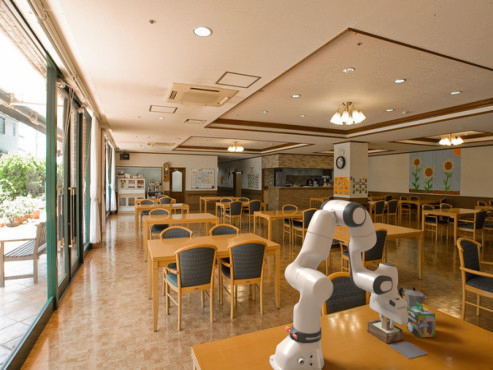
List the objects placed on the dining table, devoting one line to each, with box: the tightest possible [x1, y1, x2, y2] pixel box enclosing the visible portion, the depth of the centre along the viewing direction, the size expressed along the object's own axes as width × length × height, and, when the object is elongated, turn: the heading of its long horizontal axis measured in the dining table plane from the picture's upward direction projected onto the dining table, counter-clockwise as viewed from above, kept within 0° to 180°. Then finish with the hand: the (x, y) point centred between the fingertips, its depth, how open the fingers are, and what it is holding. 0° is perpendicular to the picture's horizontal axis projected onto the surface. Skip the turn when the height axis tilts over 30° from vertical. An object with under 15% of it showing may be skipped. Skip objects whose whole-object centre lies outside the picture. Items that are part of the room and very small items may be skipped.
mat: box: [387, 340, 429, 360], centre depth 131 cm, size 11×11×1 cm
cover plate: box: [372, 317, 400, 334], centre depth 143 cm, size 9×10×5 cm
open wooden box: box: [367, 318, 404, 345], centre depth 143 cm, size 10×12×5 cm
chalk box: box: [406, 302, 437, 339], centre depth 146 cm, size 9×9×15 cm
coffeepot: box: [397, 286, 427, 308], centre depth 160 cm, size 15×9×18 cm, turn 29°
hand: (387, 325), depth 142 cm, fingers closed on cover plate, 3 cm apart
